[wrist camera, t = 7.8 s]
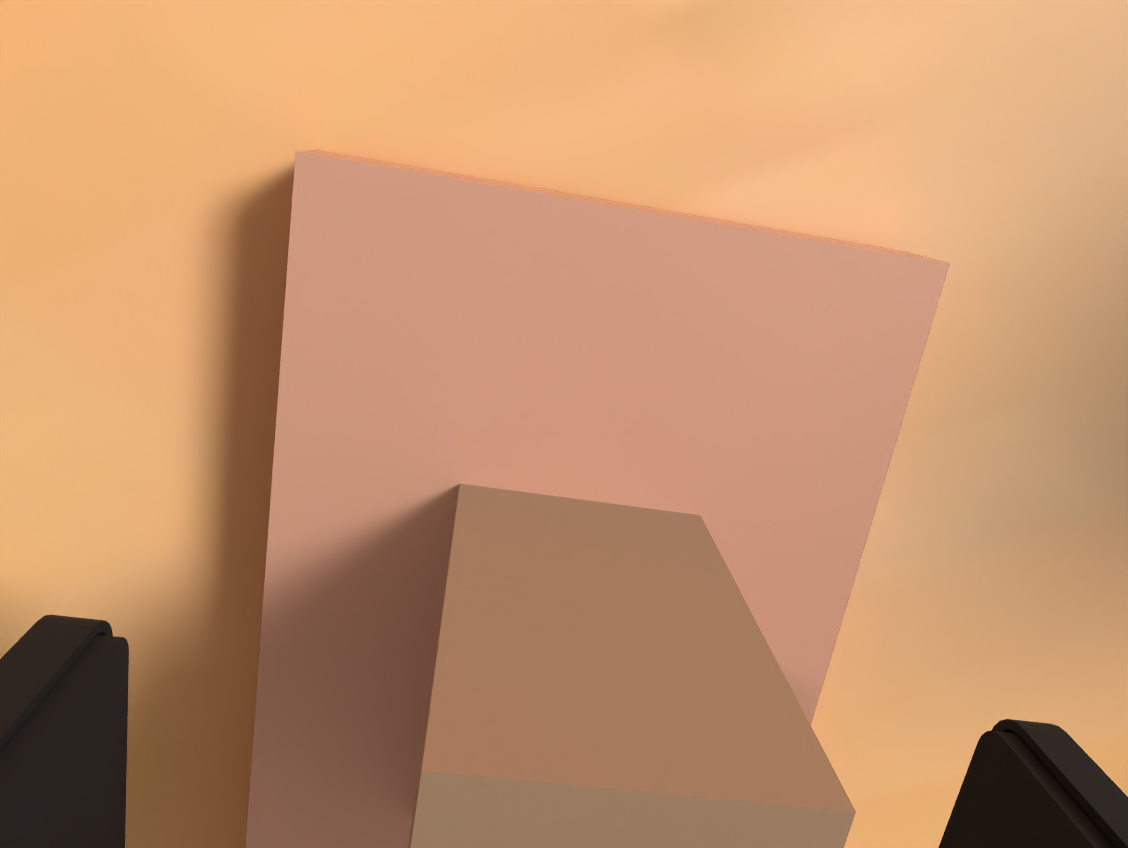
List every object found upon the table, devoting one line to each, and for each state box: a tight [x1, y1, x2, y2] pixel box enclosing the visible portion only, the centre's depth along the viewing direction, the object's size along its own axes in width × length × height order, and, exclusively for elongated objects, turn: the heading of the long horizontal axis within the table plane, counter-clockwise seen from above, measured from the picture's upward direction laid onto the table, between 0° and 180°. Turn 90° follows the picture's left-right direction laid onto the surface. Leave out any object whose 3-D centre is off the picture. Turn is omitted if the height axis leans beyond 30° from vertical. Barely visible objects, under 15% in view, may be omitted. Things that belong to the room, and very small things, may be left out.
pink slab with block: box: [245, 150, 949, 848], centre depth 9 cm, size 7×12×6 cm, turn 170°
